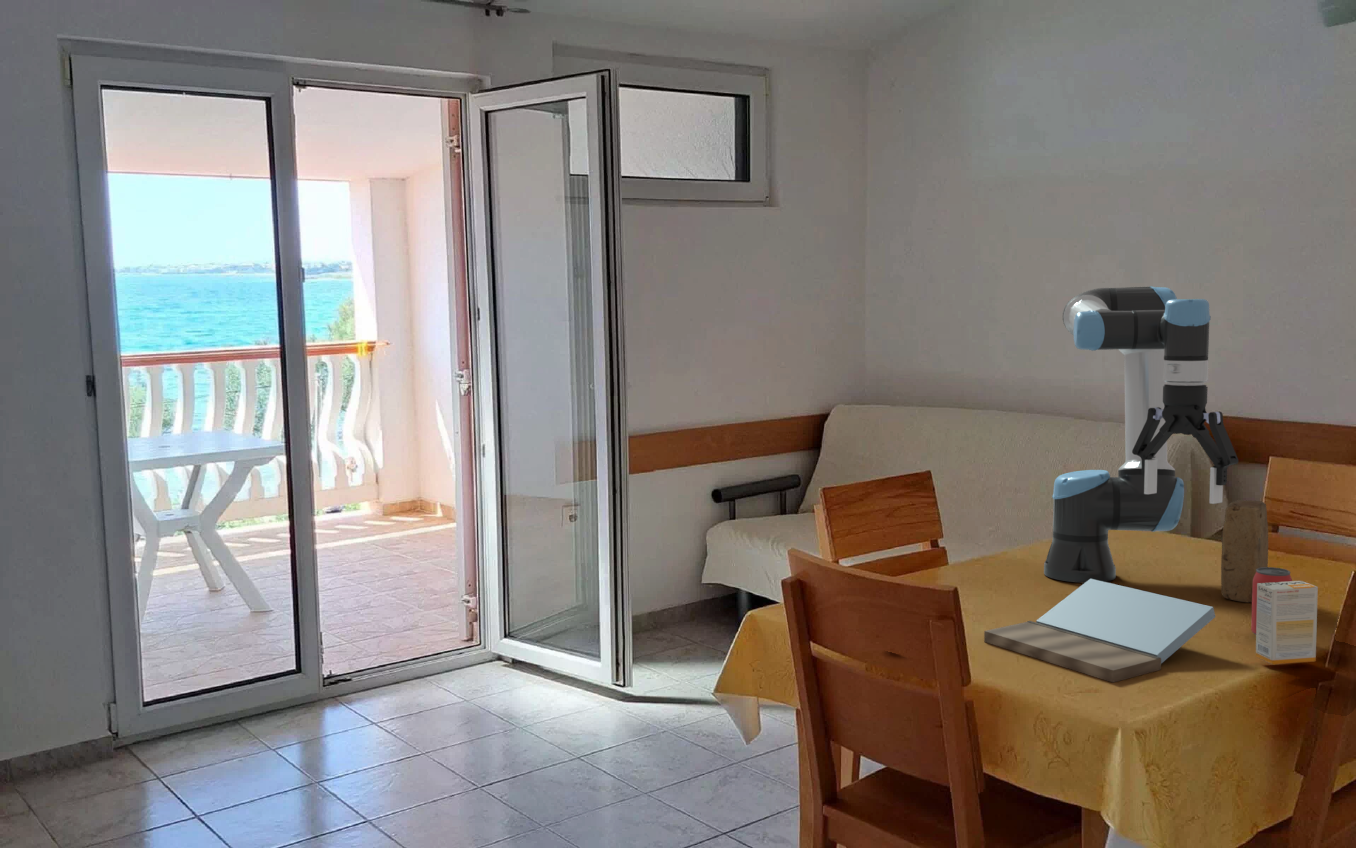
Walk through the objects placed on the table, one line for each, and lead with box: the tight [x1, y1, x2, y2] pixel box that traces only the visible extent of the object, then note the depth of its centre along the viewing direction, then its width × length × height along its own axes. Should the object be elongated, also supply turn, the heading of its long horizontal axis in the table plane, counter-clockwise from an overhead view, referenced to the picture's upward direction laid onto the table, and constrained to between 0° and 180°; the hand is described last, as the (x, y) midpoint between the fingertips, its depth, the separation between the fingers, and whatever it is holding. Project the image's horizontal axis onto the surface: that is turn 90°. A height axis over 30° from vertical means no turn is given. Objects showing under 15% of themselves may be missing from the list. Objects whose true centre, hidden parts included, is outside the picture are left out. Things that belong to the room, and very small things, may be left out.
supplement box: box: [1255, 580, 1319, 665], centre depth 198 cm, size 8×5×13 cm, turn 97°
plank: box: [1035, 579, 1216, 664], centre depth 210 cm, size 26×16×2 cm, turn 31°
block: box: [1220, 499, 1269, 603], centre depth 240 cm, size 11×8×20 cm
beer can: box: [1250, 566, 1293, 636], centre depth 213 cm, size 7×7×12 cm
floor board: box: [983, 620, 1162, 683], centre depth 203 cm, size 28×12×2 cm, turn 31°
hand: (1182, 498), depth 216 cm, fingers open, 13 cm apart
